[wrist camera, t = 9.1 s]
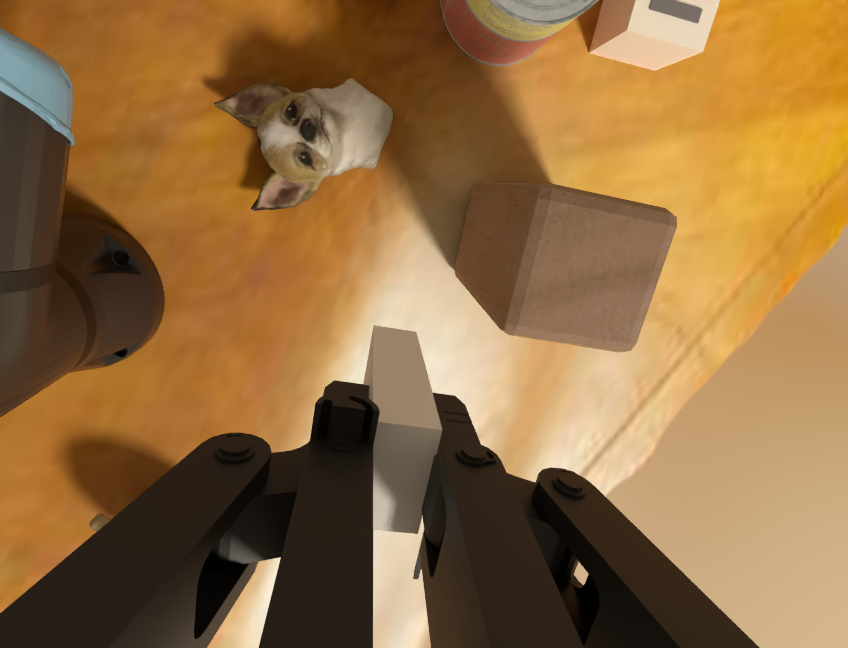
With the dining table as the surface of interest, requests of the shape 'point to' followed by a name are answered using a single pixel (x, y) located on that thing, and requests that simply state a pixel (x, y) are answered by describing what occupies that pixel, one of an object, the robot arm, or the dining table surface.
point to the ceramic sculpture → (310, 135)
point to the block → (563, 262)
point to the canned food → (507, 26)
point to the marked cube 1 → (652, 30)
